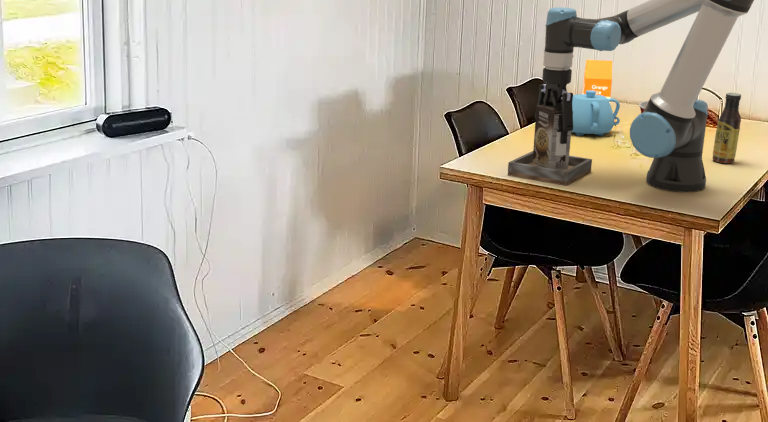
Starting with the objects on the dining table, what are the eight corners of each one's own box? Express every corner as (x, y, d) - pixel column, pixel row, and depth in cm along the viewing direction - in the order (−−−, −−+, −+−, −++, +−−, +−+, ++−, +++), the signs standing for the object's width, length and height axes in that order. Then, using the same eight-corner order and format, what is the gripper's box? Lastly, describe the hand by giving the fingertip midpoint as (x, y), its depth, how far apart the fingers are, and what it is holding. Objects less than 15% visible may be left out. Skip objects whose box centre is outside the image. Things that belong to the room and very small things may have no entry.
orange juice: (580, 116, 343) (585, 57, 337) (606, 117, 342) (612, 59, 336) (581, 120, 336) (586, 61, 330) (608, 122, 335) (613, 62, 328)
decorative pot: (584, 125, 330) (587, 84, 326) (623, 134, 318) (627, 91, 314) (551, 131, 320) (554, 89, 316) (591, 141, 309) (594, 97, 304)
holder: (591, 171, 274) (592, 159, 273) (566, 185, 260) (567, 172, 259) (534, 161, 283) (535, 149, 282) (507, 174, 269) (508, 162, 268)
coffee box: (531, 162, 274) (535, 104, 269) (551, 161, 276) (556, 103, 271) (548, 171, 266) (552, 111, 261) (569, 169, 268) (574, 110, 263)
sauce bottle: (707, 159, 289) (715, 92, 283) (724, 158, 291) (732, 90, 285) (722, 165, 283) (731, 96, 277) (740, 163, 286) (749, 95, 280)
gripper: (591, 74, 254) (584, 159, 261) (549, 60, 274) (543, 140, 281) (566, 75, 252) (559, 161, 259) (525, 61, 271) (520, 142, 278)
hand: (551, 150), depth 270 cm, fingers closed on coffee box, 9 cm apart
